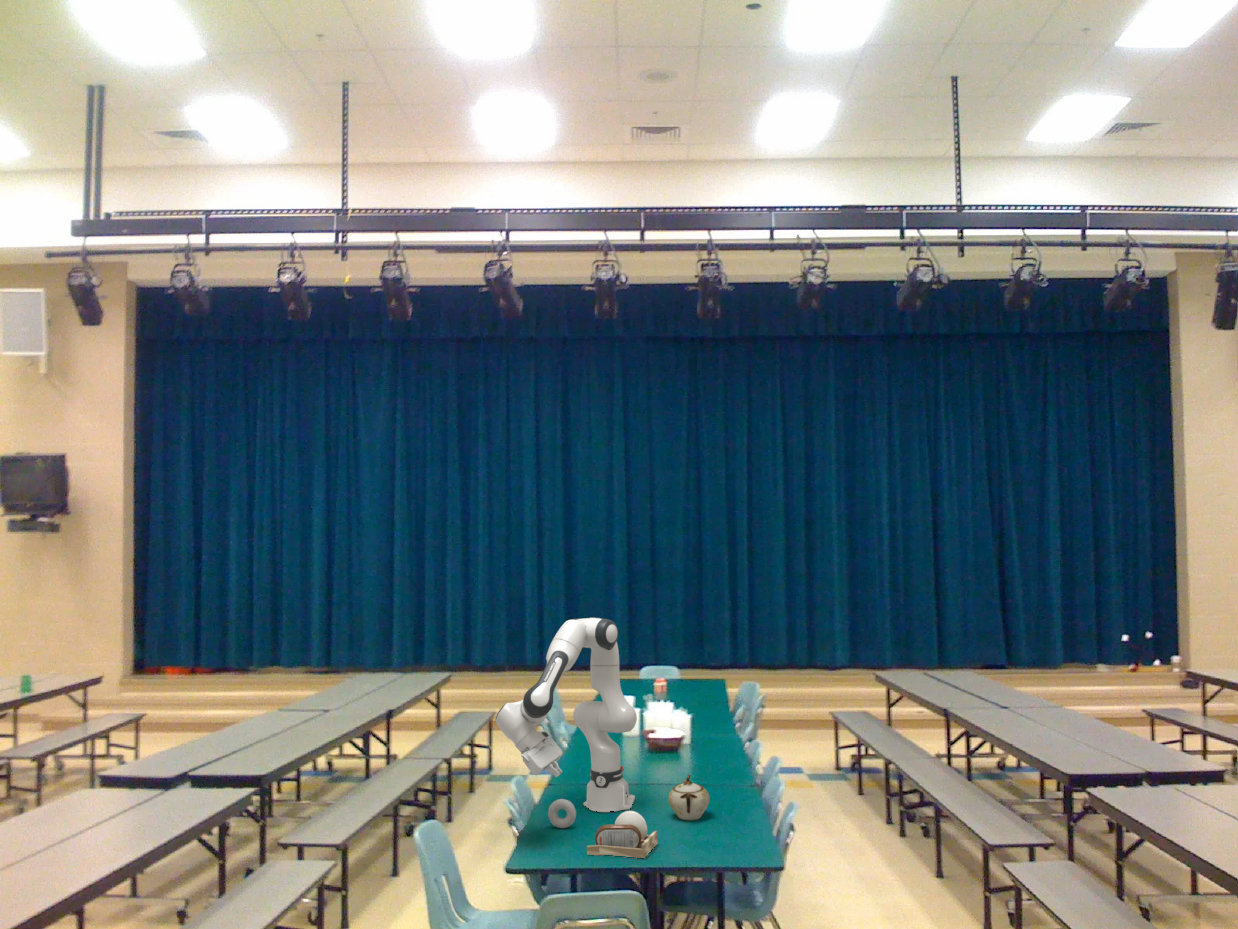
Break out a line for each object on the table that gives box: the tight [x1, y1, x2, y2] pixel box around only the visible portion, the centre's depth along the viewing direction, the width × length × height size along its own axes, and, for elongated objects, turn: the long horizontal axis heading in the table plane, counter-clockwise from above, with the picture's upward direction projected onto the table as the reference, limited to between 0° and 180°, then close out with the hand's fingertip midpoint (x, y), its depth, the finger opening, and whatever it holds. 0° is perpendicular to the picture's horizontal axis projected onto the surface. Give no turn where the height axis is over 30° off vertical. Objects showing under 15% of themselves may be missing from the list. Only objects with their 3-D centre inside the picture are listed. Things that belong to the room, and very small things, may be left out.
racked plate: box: [614, 810, 648, 840], centre depth 314 cm, size 2×11×11 cm, turn 71°
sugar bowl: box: [667, 774, 711, 821], centre depth 343 cm, size 20×15×15 cm
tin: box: [594, 824, 641, 848], centre depth 309 cm, size 15×3×8 cm, turn 89°
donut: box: [547, 798, 577, 829], centre depth 334 cm, size 10×4×10 cm, turn 83°
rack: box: [586, 830, 659, 859], centre depth 310 cm, size 16×19×4 cm
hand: (559, 774), depth 320 cm, fingers closed
